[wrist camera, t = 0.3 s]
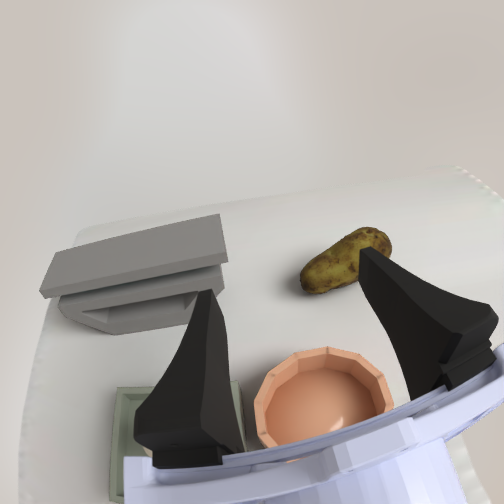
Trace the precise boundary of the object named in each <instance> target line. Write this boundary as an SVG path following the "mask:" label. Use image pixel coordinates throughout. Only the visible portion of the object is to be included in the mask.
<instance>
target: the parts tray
mask: <svg viewBox="0 0 504 504" xmlns="http://www.w3.org/2000/svg"><path fill="white" fill-rule="evenodd" d="M230 384H231V390H232V395H233V401H234V406H235V411H236V416H237V420H238V425H239V429H240V433H241V437H242V441H243V445H244V449H245V452H247V443H246V434H245V424H244V415H243V405H242V395H241V389H240V386H239V383H238V381H230ZM154 388H155V387H117V394H116V402H115V411H114V421H113V432H112V444H111V460H110V491H109V501H111V502H116V503H122V504H124V482H123V463H124V457H125V456H148V455H147V453H146V452H145V450H144V448H143V446H142V445H140V444H138V443H137V442H136V441H135V440H134V438H133V429H134V417H135V410H136V409H137V408H138V407H139V406H140V405H141V404H142V403H143V401H144V400H145V399H146V398H147V397H148V396H149V394H150V393H151V392H152V391H153V389H154ZM148 457H149V456H148Z"/></svg>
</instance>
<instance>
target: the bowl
mask: <svg viewBox="0 0 504 504" xmlns="http://www.w3.org/2000/svg"><path fill="white" fill-rule="evenodd" d="M393 407H394V402H393V399H392V396H391V394H390V391H389V388H388V385H387V382H386V380H385V377H384V374H383V373H381V372H380V371H379V370H378V369H377V368H375V367H374V366H373V365H372V364H371V363H370V362H368V361H367V360H366V359H365V358H364V357H362V356H361V355H360V354H357V353H353V352H349V351H344V350H340V349H336V348H332V347H328V346H327V347H323V348H318V349H313V350H307V351H302V352H297V353H294V354H293V355H291V356H290V357H288V358H287V359H286V360H284V361H283V362H282V363H280V364H279V365H277V366H276V367H275V368H273V369H272V370H270V371H269V372H268V373H267V375H266V377H265V379H264V381H263V384H262V386H261V388H260V390H259V392H258V394H257V396H256V398H255V400H254V410H255V418H256V426H257V434H258V437H259V439H260V442H261V444H262V445H263V446H264V447H265V449H266V448H271V447H276V446H280V445H284V444H289V443H293V442H297V441H301V440H305V439H308V438H312V437H316V436H319V435H323V434H326V433H329V432H332V431H336V430H339V429H342V428H345V427H348V426H351V425H354V424H356V423H359V422H362V421H365V420H367V419H370V418H373V417H375V416H378V415H380V414H383V413H385V412H388V411H390V410H392V409H393ZM311 456H312V455H311ZM308 457H309V456H308ZM304 458H305V457H304ZM300 459H302V458H300ZM296 460H299V459H296ZM296 460H291V461H287V463H289V462H293V461H296Z"/></svg>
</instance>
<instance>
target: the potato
mask: <svg viewBox="0 0 504 504" xmlns="http://www.w3.org/2000/svg"><path fill="white" fill-rule="evenodd" d="M370 246H371V247H373V248H374V249H376V250H377V251H379V252H380V253H381V254H383V255H384V256H386V257H387V258H390V255H391V253H392V245H391V242H390V240H389V238H388V236H387V235H386V234H385V233H384V232H382V231H379V230H378V229H376V228H372V227H362V228H359V229H357V230H355V231H354V232H352V233H351V234H349V235H347V236H345V237H344V238H343V239H341V240H340V241H338V242H337V243H335V244H334V245H333V246H331V247H330V248H329V249H327V250H326V251H324V252H323V253H321V254H319V255H318V256H316V257H315V258H313V259H312V260H311V261H310V262H309V263H308V264H307V265H306V266H305V267H304V268H303V270H302V271H301V274H300V282H301V286H302V288H303V290H305V291H306V292H309V293H313V294H322V293H325V292H327V291H329V290H330V289H333V288H340V287H343V286H346V285H349V284H352V283H354V282H357V281H358V274H359V251H360V249H363V248H366V247H370Z"/></svg>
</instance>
